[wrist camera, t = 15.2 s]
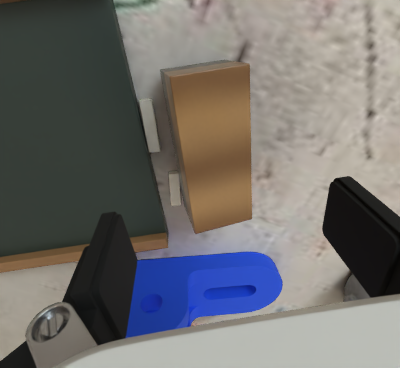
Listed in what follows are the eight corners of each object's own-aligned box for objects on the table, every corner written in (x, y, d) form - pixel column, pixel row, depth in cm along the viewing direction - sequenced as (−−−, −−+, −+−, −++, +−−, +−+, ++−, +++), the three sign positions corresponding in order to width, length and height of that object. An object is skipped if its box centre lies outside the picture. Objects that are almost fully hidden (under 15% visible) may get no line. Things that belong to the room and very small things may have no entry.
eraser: (159, 69, 18) (169, 76, 15) (225, 59, 19) (250, 63, 15) (184, 204, 24) (195, 234, 21) (232, 192, 25) (252, 219, 21)
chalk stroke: (139, 99, 20) (138, 100, 20) (152, 98, 20) (151, 99, 20) (149, 150, 22) (148, 153, 22) (160, 149, 23) (160, 151, 22)
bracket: (135, 307, 33) (122, 391, 25) (124, 261, 29) (105, 344, 21) (271, 295, 34) (300, 371, 26) (280, 249, 30) (318, 324, 22)
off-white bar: (179, 173, 23) (179, 170, 24) (168, 174, 23) (168, 171, 24) (181, 206, 25) (180, 202, 25) (170, 206, 25) (170, 203, 25)
